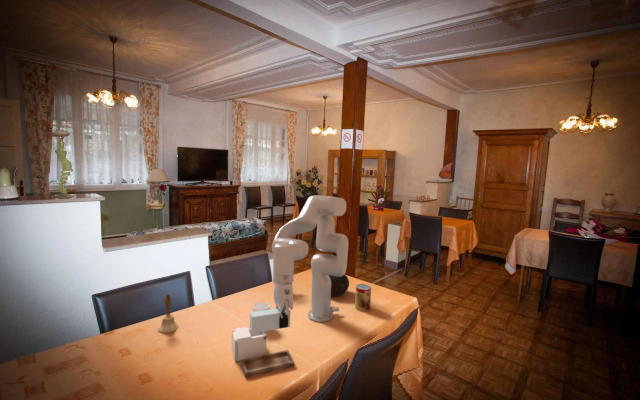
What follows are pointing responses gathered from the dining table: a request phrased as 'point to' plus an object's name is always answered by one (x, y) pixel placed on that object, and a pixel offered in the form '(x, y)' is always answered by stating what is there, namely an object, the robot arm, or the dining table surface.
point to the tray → (267, 363)
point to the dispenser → (248, 343)
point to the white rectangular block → (265, 320)
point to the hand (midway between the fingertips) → (281, 323)
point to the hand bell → (168, 318)
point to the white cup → (261, 306)
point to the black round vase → (338, 283)
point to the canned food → (363, 297)
